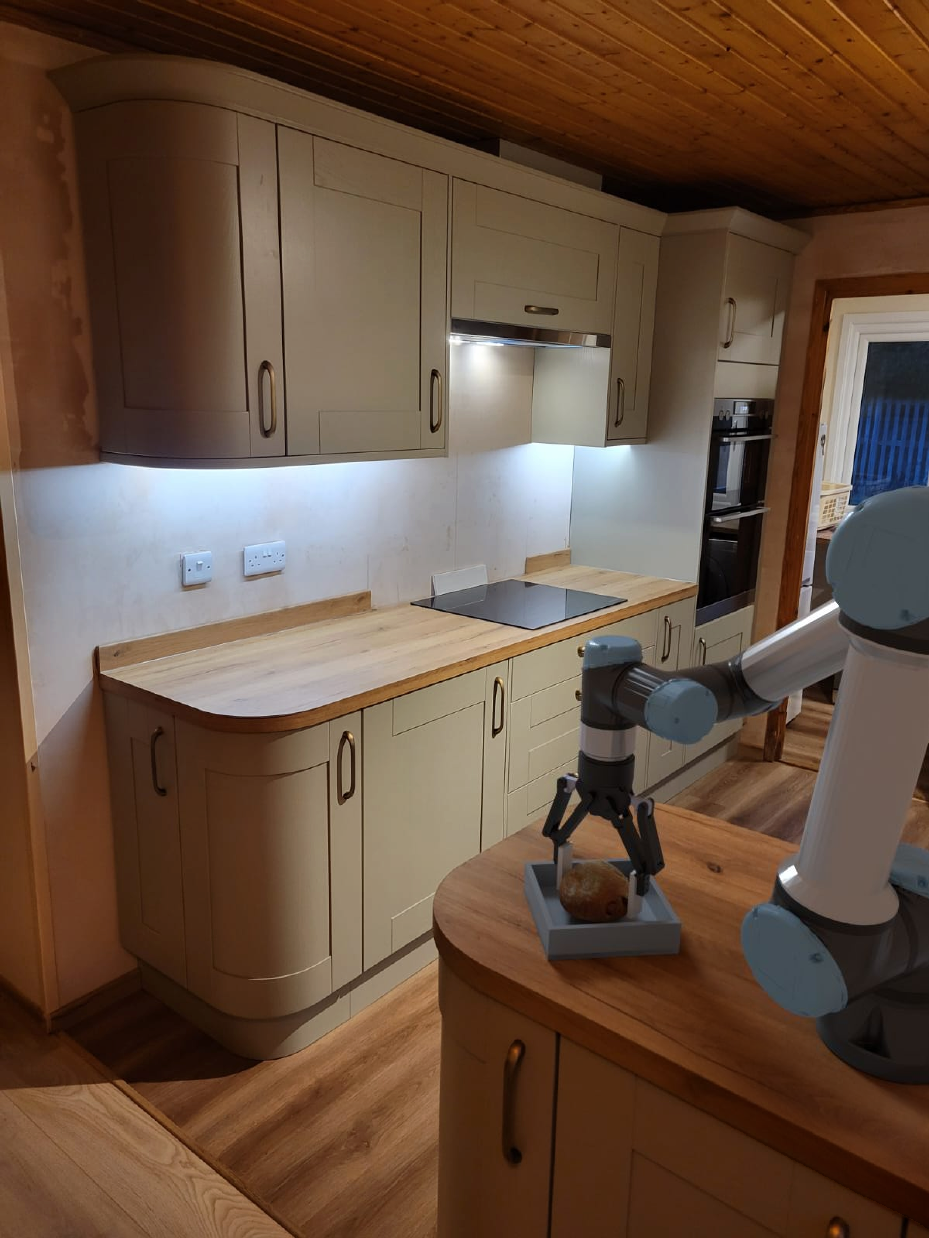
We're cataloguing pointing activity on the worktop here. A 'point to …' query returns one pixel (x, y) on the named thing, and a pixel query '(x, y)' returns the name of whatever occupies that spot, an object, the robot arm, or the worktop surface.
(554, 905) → the bread tray
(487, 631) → the worktop surface
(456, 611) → the worktop surface
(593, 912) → the bread roll
